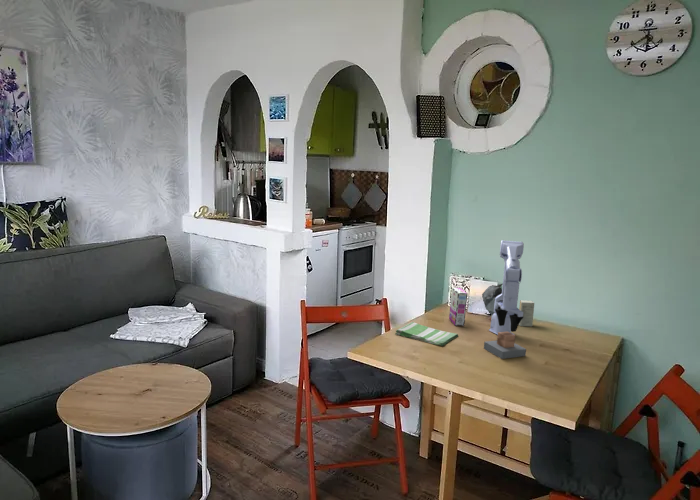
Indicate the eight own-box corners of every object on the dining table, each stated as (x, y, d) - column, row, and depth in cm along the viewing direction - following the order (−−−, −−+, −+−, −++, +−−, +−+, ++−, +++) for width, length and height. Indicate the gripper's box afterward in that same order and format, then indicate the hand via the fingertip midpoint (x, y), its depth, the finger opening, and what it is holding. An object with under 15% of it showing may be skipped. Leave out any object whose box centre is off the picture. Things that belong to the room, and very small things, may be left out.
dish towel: (442, 348, 216) (442, 341, 216) (394, 335, 229) (394, 329, 228) (458, 337, 231) (458, 331, 230) (412, 326, 243) (412, 320, 243)
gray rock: (473, 318, 259) (476, 284, 256) (486, 312, 270) (489, 279, 267) (499, 325, 250) (503, 289, 247) (512, 318, 261) (515, 284, 258)
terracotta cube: (496, 343, 214) (497, 332, 213) (506, 342, 216) (507, 331, 215) (504, 347, 210) (505, 336, 209) (514, 346, 212) (515, 335, 211)
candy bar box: (465, 326, 246) (468, 293, 243) (454, 325, 245) (457, 293, 242) (458, 319, 257) (461, 287, 254) (448, 318, 256) (451, 287, 253)
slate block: (483, 348, 216) (484, 341, 216) (506, 345, 221) (507, 339, 220) (501, 358, 206) (502, 351, 205) (525, 355, 210) (526, 349, 210)
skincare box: (530, 324, 254) (533, 300, 252) (532, 326, 250) (535, 303, 247) (517, 323, 254) (519, 299, 252) (519, 325, 250) (521, 302, 248)
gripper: (491, 292, 215) (488, 323, 217) (514, 302, 201) (511, 334, 204) (505, 292, 217) (502, 322, 220) (528, 301, 204) (525, 333, 206)
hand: (507, 328), depth 212 cm, fingers open, 7 cm apart
